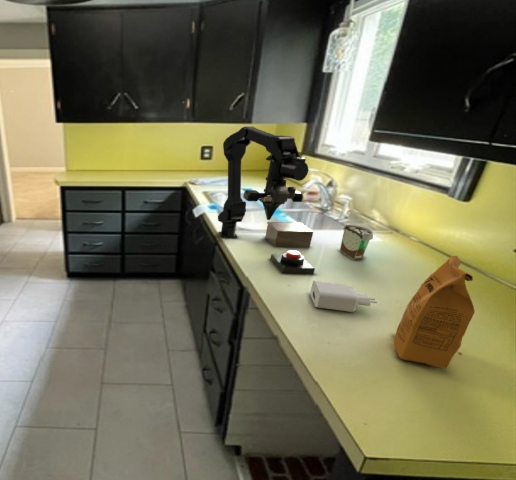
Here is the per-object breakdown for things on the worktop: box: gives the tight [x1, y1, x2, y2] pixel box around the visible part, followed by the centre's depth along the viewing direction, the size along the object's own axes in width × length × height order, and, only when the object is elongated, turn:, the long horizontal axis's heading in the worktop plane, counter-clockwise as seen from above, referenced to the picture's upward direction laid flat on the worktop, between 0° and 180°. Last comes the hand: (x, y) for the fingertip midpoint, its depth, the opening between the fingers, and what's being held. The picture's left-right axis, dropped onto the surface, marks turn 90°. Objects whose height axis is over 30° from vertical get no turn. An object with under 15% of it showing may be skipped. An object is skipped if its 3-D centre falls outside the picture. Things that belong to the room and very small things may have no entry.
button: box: [286, 249, 302, 259], centre depth 122 cm, size 4×4×2 cm
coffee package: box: [393, 255, 475, 369], centre depth 77 cm, size 10×12×22 cm
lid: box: [266, 221, 314, 234], centre depth 144 cm, size 12×13×1 cm
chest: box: [264, 224, 314, 248], centre depth 145 cm, size 11×13×6 cm
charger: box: [309, 280, 378, 313], centre depth 100 cm, size 5×9×15 cm
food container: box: [339, 224, 374, 261], centre depth 132 cm, size 12×6×10 cm, turn 179°
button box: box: [269, 251, 316, 275], centre depth 124 cm, size 12×10×4 cm
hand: (268, 219), depth 130 cm, fingers closed
